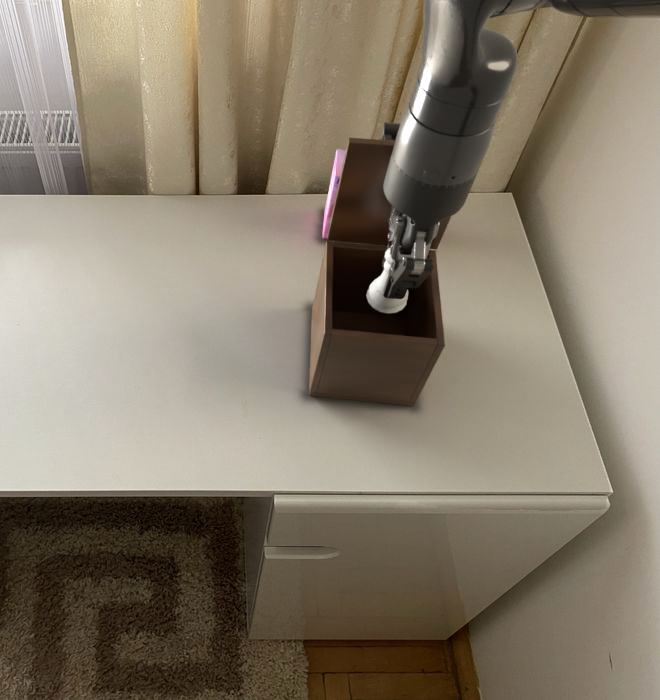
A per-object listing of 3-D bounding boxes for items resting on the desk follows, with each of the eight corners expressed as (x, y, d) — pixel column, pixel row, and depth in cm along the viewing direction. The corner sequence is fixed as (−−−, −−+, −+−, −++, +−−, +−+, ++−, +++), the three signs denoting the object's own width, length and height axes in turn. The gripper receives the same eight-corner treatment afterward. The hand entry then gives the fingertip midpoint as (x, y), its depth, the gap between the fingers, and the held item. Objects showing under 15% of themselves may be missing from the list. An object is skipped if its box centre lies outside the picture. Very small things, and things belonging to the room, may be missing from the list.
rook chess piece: (359, 307, 76) (374, 258, 70) (373, 279, 78) (388, 229, 72) (398, 321, 75) (417, 273, 68) (411, 293, 77) (430, 243, 71)
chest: (414, 406, 83) (445, 345, 72) (308, 395, 84) (324, 334, 73) (408, 316, 90) (435, 249, 80) (312, 307, 91) (326, 240, 81)
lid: (479, 152, 67) (474, 115, 70) (348, 142, 68) (349, 107, 71) (437, 249, 79) (434, 215, 82) (327, 240, 80) (327, 207, 83)
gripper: (490, 214, 56) (432, 338, 70) (472, 106, 64) (423, 237, 78) (396, 206, 56) (357, 331, 71) (390, 101, 64) (356, 232, 78)
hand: (392, 281), depth 74 cm, fingers closed on rook chess piece, 3 cm apart
